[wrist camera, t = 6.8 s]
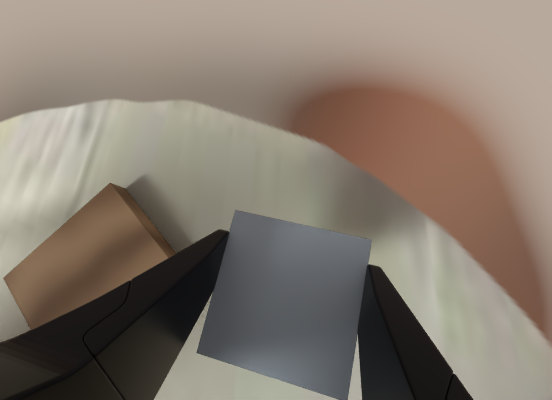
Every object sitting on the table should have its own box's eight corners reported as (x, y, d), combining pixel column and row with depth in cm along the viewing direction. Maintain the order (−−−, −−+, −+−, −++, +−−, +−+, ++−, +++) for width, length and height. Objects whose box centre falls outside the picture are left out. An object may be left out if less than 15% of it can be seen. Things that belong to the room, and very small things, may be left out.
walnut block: (199, 283, 22) (189, 285, 20) (91, 387, 21) (69, 401, 19) (124, 188, 25) (110, 183, 23) (26, 276, 24) (3, 278, 22)
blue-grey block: (326, 331, 14) (347, 402, 7) (245, 308, 15) (196, 353, 8) (341, 247, 15) (371, 239, 8) (264, 229, 16) (235, 210, 9)
